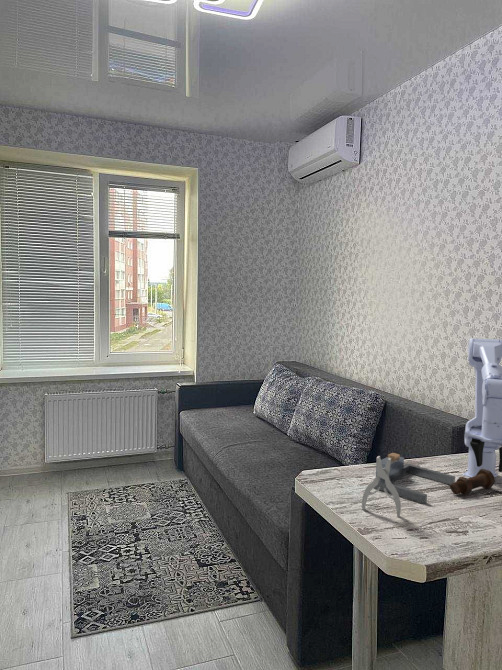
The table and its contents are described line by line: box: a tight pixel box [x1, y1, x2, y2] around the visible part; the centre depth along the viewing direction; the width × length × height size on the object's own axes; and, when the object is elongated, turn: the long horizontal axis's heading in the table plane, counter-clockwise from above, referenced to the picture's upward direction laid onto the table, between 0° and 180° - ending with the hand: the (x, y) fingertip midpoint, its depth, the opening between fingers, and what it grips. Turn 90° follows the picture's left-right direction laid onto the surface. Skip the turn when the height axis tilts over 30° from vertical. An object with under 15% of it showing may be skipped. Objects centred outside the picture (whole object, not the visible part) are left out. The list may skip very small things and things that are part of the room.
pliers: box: [361, 455, 402, 518], centre depth 133 cm, size 10×2×15 cm, turn 64°
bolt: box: [449, 469, 496, 496], centre depth 150 cm, size 6×5×15 cm
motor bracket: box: [373, 452, 456, 505], centre depth 153 cm, size 21×18×7 cm
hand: (490, 468), depth 145 cm, fingers open, 5 cm apart
